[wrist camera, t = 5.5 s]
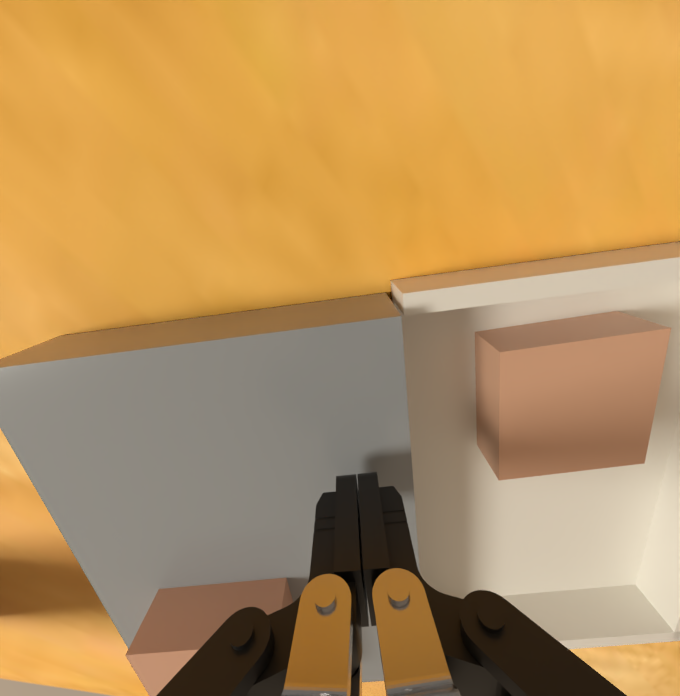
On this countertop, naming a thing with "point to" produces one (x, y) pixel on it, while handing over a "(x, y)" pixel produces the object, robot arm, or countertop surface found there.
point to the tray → (555, 489)
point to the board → (210, 443)
